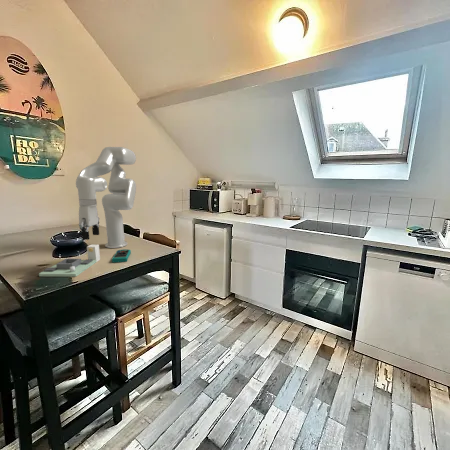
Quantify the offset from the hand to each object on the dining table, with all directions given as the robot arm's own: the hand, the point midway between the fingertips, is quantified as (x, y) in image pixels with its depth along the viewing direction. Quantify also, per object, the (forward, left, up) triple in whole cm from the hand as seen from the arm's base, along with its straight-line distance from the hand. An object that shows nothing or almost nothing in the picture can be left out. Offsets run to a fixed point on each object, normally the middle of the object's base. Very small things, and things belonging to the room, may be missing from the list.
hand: (91, 237), depth 127 cm
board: (+10, -6, -13) cm, 17 cm away
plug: (-1, 0, -13) cm, 13 cm away
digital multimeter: (-6, +12, -13) cm, 19 cm away
